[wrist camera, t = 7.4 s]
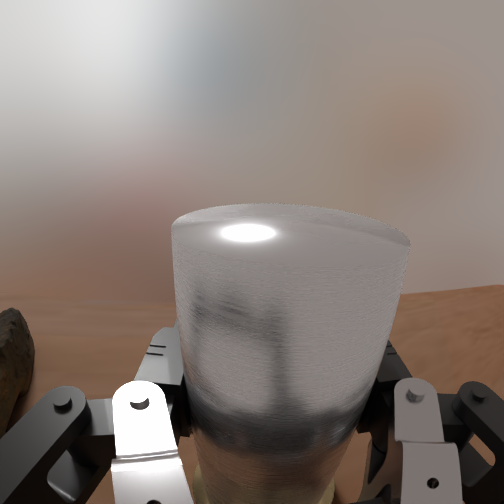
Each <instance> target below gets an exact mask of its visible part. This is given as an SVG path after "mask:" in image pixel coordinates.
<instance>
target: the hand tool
mask: <svg viewBox="0 0 504 504" xmlns="http://www.w3.org/2000/svg"><path fill="white" fill-rule="evenodd" d="M33 361H34V343H33V339H32V337H31V334H30V331H29V329H28V326H27V323H26V321H25V319H24V318H23V316H22V314H21V313H20V311H19V310H15V309H14V308H9V309H8V310H4V311H3V312H1V313H0V439H1V438H2V437H3V436H4V435H5V433H6V429H7V426H8V423H9V420H10V417H11V414H12V411H13V408H14V406H15V403H16V400H17V397H20V396H23V395H25V394H26V393H27V392H28V389H29V385H30V381H31V377H32V369H33Z"/></svg>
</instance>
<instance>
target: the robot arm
mask: <svg viewBox="0 0 504 504" xmlns="http://www.w3.org/2000/svg"><path fill="white" fill-rule="evenodd" d="M191 425H192V423H191V417H190V411H189V405H188V399H187V392H186V385H185V378H184V370H183V363H182V355H181V346H180V337H179V328H178V318H177V320H176V322H175V325H174V327H173V328H166V327H163V328H162V329H161V330H160V331H159V332H157V333H156V334H155V335H154V337H153V339H152V341H151V343H150V347H149V348H148V350H147V352H146V354H145V357H144V359H143V361H142V363H141V366H140V368H139V370H138V372H137V375H136V377H135V379H134V382H132V383H128V384H126V385H124V386H122V387H121V388H120V389H119V390H118V391H117V392H116V393H115V395H114V397H113V398H108V399H95V400H86V398H85V395H84V394H83V392H82V391H81V390H79V389H78V388H76V387H73V386H60V387H56V388H54V389H52V390H50V391H49V392H48V393H46V394H45V395H44V396H43V397H42V398H41V399H40V400H39V401H38V402H37V403H36V404H35V405H34V406H33V407H32V408H31V409H30V410H29V411H28V412H27V413H26V414H25V415H24V416H23V417H22V418H21V419H20V420H19V421H18V422H17V423H16V424H15V425H14V426H13V427H12V428H11V429H10V430H9V431H8V432H7V433H6V434H5V435H4V436H3V437H2V438H1V439H0V504H85V503H86V502H87V500H88V499H89V498H90V496H91V495H92V493H93V492H94V490H95V489H96V487H97V486H98V484H99V483H100V482H101V480H102V479H103V477H104V476H105V474H106V473H107V471H108V470H109V468H110V467H111V470H112V479H113V488H114V495H115V502H116V504H194V502H193V499H192V496H191V493H190V490H189V487H188V484H187V480H186V477H185V474H184V471H183V467H182V464H181V460H180V457H179V453H178V450H177V448H178V444H179V439H180V436H184V437H190V431H191ZM356 429H357V432H358V433H364V432H370V433H371V436H372V438H371V440H370V442H369V444H368V450H367V459H366V467H365V474H364V480H363V487H362V491H361V494H360V497H359V499H358V501H357V502H356V503H350V504H463V502H462V500H463V501H464V502H465V504H504V401H503V400H502V399H501V398H500V397H499V396H498V395H497V394H495V393H494V392H493V391H492V390H491V389H490V388H489V387H487V386H486V385H484V384H482V383H479V382H475V381H471V382H466V383H464V384H463V385H462V386H461V387H460V389H459V391H458V393H457V394H439V393H436V390H435V389H434V387H433V386H432V385H431V384H429V383H428V382H426V381H424V380H422V379H418V378H413V377H412V376H411V374H410V372H409V371H408V369H407V368H406V366H405V364H404V363H403V361H402V360H401V358H400V357H399V355H398V354H397V352H396V350H395V349H394V347H392V344H391V343H390V341H389V340H388V342H387V345H386V348H385V351H384V355H383V358H382V361H381V364H380V367H379V370H378V373H377V376H376V379H375V381H374V384H373V387H372V390H371V392H370V395H369V398H368V400H367V403H366V405H365V408H364V411H363V413H362V415H361V418H360V420H359V423H358V425H357V427H356ZM474 434H476V435H477V436H478V437H479V438H480V439H481V440H482V441H483V443H484V444H485V445H486V446H487V447H488V448H489V449H490V450H491V451H492V452H493V453H494V455H495V464H494V466H491V465H489V464H488V463H487V462H486V461H485V460H484V459H483V457H482V456H481V455H480V454H479V453H478V452H477V451H476V450H475V449H474V448H473V447H472V445H471V444H470V443H469V441H470V439H471V438H472V437H473V435H474Z"/></svg>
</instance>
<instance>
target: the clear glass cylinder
mask: <svg viewBox="0 0 504 504" xmlns="http://www.w3.org/2000/svg"><path fill="white" fill-rule="evenodd" d="M171 230H172V252H173V269H174V283H175V296H176V307H177V318H178V328H179V337H180V346H181V355H182V363H183V370H184V378H185V385H186V392H187V399H188V405H189V411H190V417H191V423H192V429H193V435H194V440H195V445H196V451H197V456H198V461H199V464H198V466H197V468H196V470H195V473H194V477H193V494H194V498H195V501H196V504H331V502H332V500H333V496H334V490H335V483H334V477H333V476H334V474H335V472H336V470H337V468H338V466H339V464H340V462H341V460H342V458H343V456H344V454H345V452H346V450H347V448H348V445H349V443H350V441H351V439H352V437H353V434H354V432H355V430H356V427H357V425H358V423H359V420H360V418H361V415H362V413H363V411H364V408H365V405H366V403H367V400H368V398H369V395H370V392H371V390H372V387H373V384H374V381H375V379H376V376H377V373H378V370H379V367H380V364H381V361H382V358H383V355H384V351H385V348H386V345H387V342H388V338H389V335H390V331H391V328H392V324H393V321H394V317H395V313H396V309H397V305H398V301H399V297H400V293H401V289H402V284H403V280H404V275H405V270H406V265H407V260H408V255H409V250H410V241H409V239H408V238H407V236H406V235H405V234H403V233H402V232H401V231H399V230H398V229H396V228H394V227H392V226H390V225H388V224H386V223H384V222H381V221H378V220H375V219H373V218H369V217H366V216H362V215H359V214H355V213H350V212H346V211H340V210H335V209H329V208H321V207H315V206H305V205H293V204H269V203H268V204H265V203H264V204H261V203H260V204H259V203H258V204H236V205H225V206H217V207H212V208H206V209H202V210H197V211H194V212H191V213H188V214H186V215H183V216H181V217H179V218H178V219H177V220H175V221H174V223H173V224H172V228H171Z"/></svg>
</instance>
